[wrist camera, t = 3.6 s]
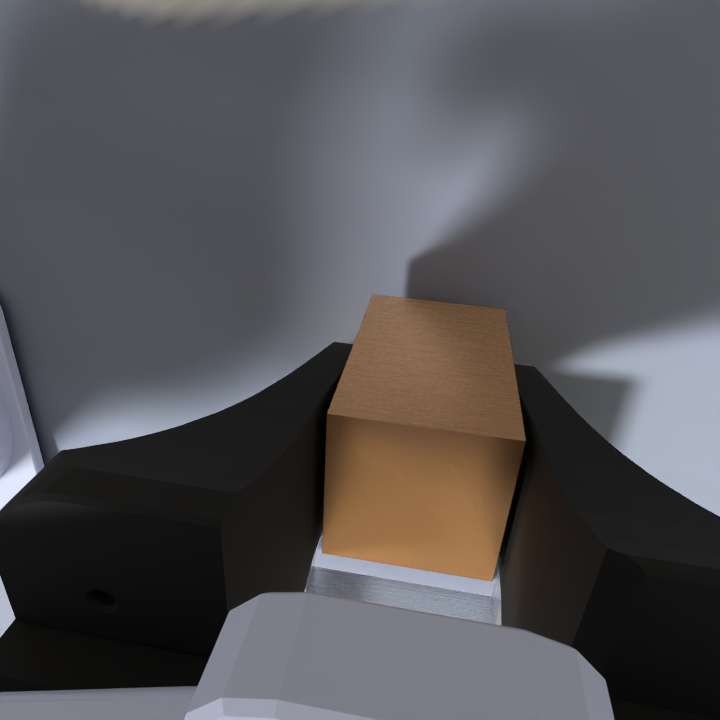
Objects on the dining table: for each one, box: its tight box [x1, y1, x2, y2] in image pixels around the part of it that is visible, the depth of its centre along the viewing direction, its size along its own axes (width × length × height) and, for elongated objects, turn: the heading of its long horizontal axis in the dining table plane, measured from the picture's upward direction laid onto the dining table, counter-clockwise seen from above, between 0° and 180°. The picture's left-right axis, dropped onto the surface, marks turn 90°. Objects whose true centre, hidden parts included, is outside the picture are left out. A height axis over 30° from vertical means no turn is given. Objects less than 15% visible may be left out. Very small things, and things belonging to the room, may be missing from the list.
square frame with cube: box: [304, 294, 526, 625], centre depth 13 cm, size 10×7×5 cm
